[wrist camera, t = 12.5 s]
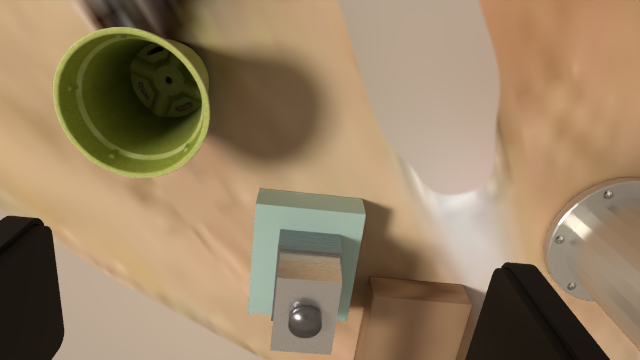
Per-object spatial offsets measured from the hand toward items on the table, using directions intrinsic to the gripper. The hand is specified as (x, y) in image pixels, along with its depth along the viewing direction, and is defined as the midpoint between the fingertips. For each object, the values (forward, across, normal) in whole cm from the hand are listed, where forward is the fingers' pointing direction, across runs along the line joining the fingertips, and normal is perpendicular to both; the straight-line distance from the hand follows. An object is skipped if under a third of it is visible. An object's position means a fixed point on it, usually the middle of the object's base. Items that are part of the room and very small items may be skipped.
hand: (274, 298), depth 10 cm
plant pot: (+29, +10, +2) cm, 30 cm away
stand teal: (+28, -2, +16) cm, 33 cm away
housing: (+25, -2, +16) cm, 30 cm away
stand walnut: (+28, -13, +24) cm, 39 cm away
